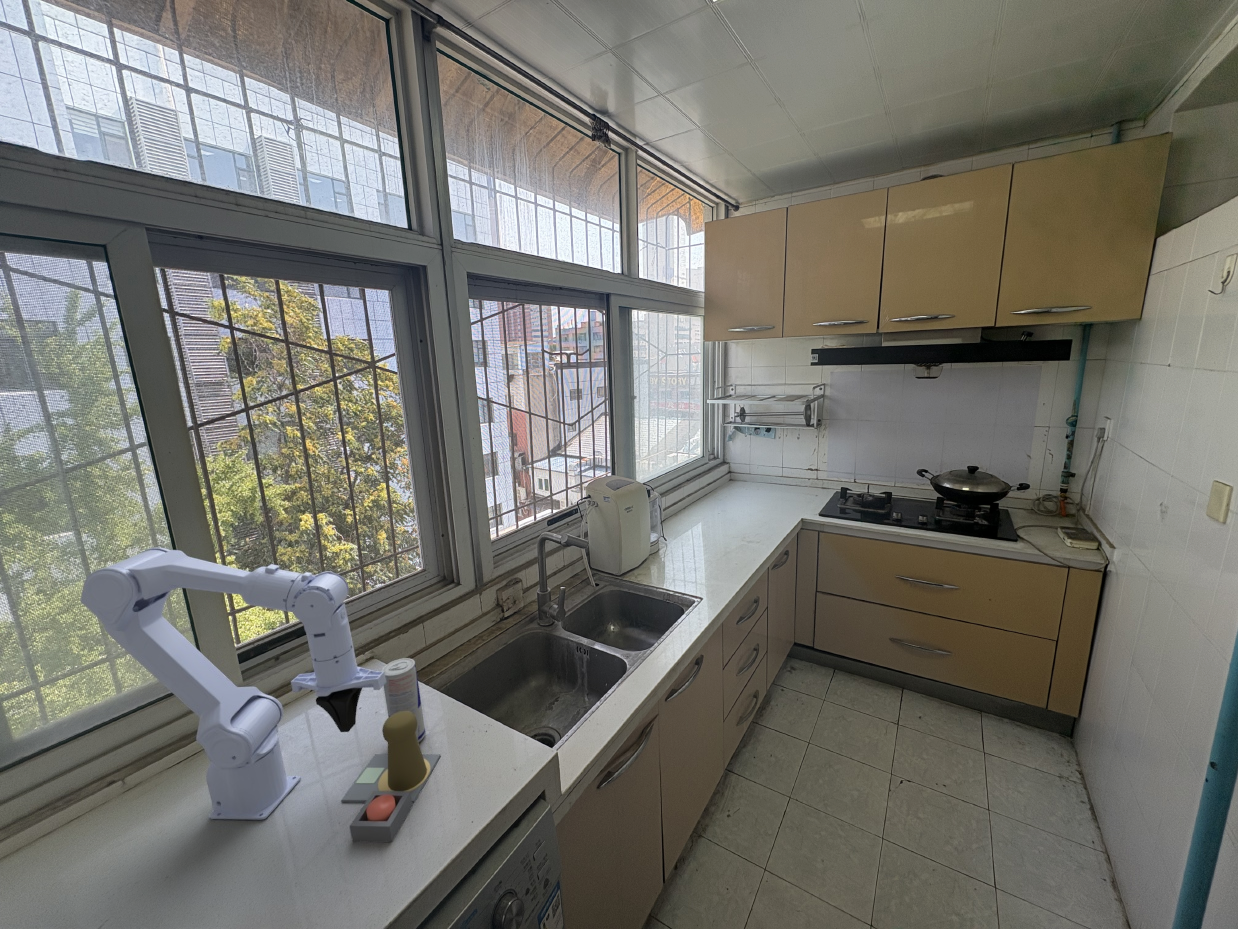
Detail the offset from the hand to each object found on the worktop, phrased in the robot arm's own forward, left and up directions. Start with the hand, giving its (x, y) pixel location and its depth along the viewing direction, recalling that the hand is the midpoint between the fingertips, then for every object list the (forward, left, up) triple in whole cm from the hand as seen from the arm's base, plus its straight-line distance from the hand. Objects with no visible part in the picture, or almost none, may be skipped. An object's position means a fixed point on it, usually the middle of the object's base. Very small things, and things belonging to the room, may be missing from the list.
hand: (348, 727), depth 79 cm
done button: (+9, -7, -10) cm, 15 cm away
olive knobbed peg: (+8, +1, -10) cm, 13 cm away
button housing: (+9, -7, -10) cm, 15 cm away
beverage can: (+4, +10, -11) cm, 15 cm away
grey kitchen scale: (+6, +1, -10) cm, 12 cm away
